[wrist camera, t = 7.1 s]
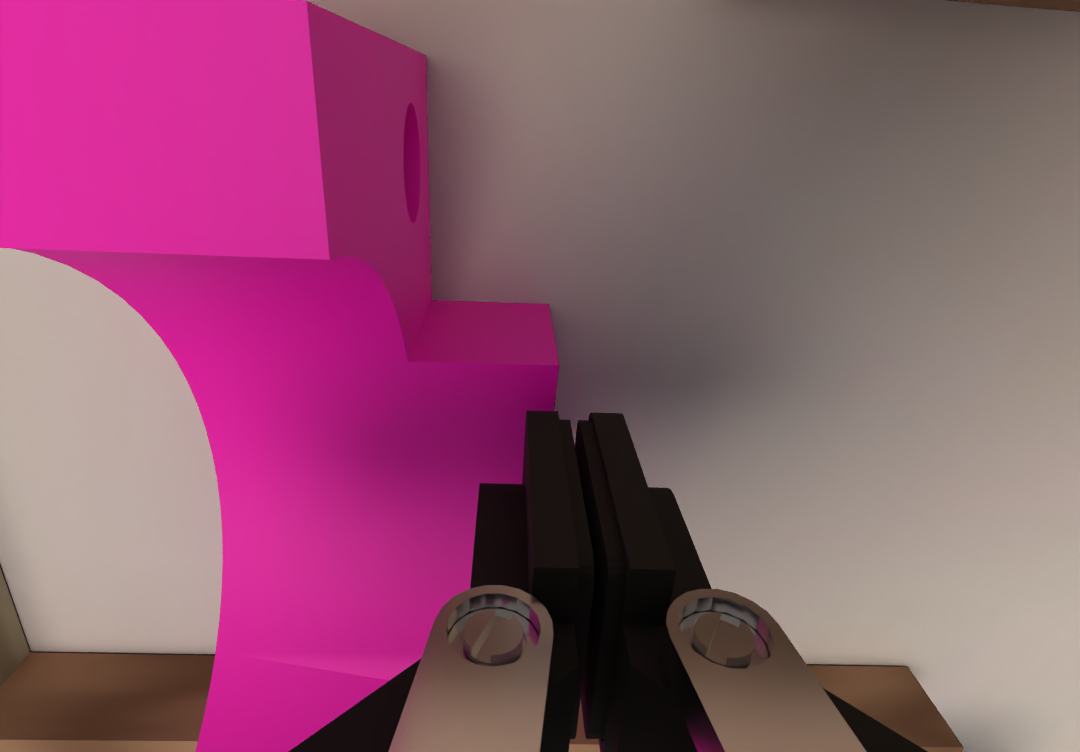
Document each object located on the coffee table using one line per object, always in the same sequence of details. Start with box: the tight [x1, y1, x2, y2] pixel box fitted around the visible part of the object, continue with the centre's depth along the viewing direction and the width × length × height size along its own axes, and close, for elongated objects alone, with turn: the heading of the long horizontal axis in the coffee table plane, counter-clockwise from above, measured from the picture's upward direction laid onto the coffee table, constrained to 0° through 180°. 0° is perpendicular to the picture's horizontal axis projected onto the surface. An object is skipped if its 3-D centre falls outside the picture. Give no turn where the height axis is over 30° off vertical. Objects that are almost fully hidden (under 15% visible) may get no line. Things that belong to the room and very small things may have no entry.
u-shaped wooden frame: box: [0, 0, 1080, 752], centre depth 12 cm, size 26×19×5 cm
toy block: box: [0, 0, 559, 752], centre depth 11 cm, size 15×6×8 cm, turn 177°
